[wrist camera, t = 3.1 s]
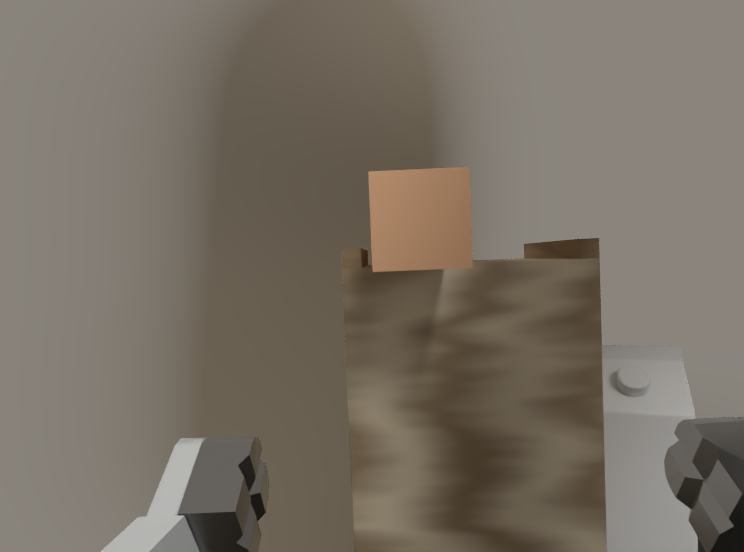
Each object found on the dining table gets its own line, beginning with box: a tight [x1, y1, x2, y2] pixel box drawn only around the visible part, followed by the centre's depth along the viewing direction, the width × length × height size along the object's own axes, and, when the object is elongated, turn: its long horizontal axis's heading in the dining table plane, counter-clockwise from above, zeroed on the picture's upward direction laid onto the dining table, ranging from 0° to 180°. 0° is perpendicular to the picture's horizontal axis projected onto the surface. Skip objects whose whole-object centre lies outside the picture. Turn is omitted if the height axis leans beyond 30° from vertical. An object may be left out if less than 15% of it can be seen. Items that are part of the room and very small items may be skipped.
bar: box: [369, 167, 473, 272], centre depth 29 cm, size 4×22×4 cm, turn 179°
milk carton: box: [602, 345, 698, 552], centre depth 39 cm, size 7×7×19 cm
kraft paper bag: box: [341, 238, 607, 552], centre depth 31 cm, size 13×10×27 cm
